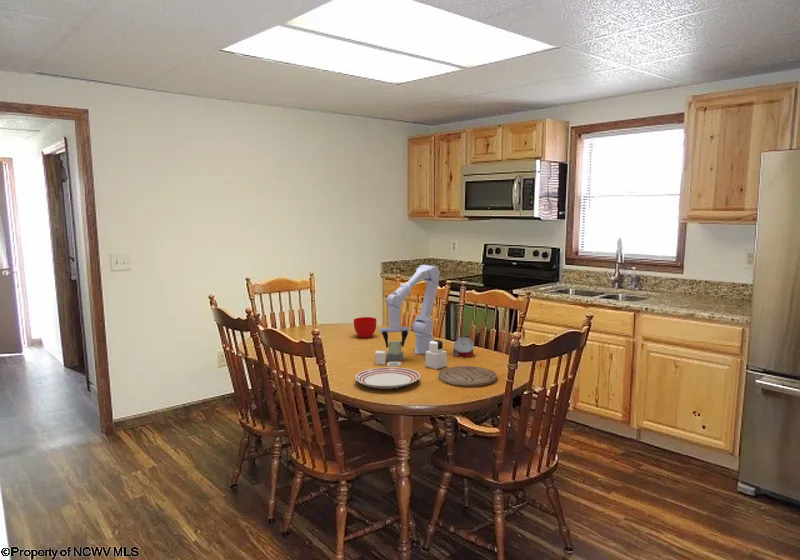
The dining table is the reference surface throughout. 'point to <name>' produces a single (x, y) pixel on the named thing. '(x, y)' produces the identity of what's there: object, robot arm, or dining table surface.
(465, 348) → the canned food
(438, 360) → the medicine bottle
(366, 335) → the ceramic cup
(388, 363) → the card
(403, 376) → the dinner plate
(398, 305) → the robot arm
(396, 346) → the sage block
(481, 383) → the trivet
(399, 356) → the base slab
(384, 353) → the offwhite block
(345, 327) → the dining table surface
